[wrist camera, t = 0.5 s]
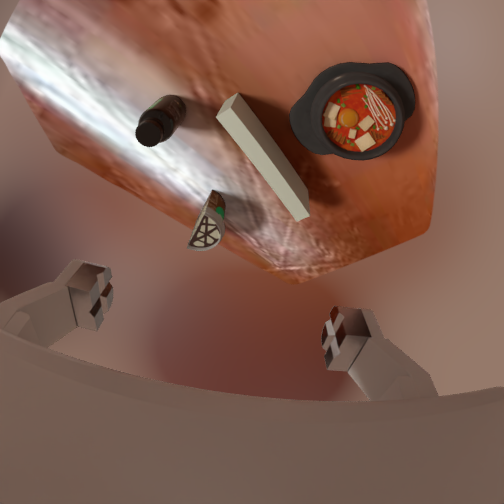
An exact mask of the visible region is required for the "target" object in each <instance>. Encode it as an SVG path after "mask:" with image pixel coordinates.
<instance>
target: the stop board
mask: <svg viewBox="0 0 504 504" xmlns="http://www.w3.org/2000/svg"><path fill="white" fill-rule="evenodd" d="M216 118H217V119H218V121H219V122H220V123H221V124H222V125H223V127H224V128H225V129H226V130H227V132H228V133H229V134H230V135H231V136H232V138H233V139H234V140H235V141H236V143H237V144H238V145H239V146H240V148H241V149H242V150H243V151H244V153H245V154H246V155H247V157H248V158H249V159H250V160H251V162H252V163H253V164H254V165H255V167H256V168H257V169H258V171H259V172H260V173H261V175H262V176H263V177H264V178H265V180H266V181H267V182H268V184H269V185H270V186H271V188H272V189H273V190H274V192H275V193H276V194H277V196H278V197H279V198H280V200H281V201H282V202H283V204H284V205H285V206H286V208H287V209H288V210H289V212H290V213H291V214H292V216H293V217H294V218H295V220H296V221H299V220H302V219H304V218H306V217H309V216H310V208H309V196H308V189H307V188H306V186H305V185H304V183H303V182H302V180H301V179H300V177H299V176H298V174H297V173H296V171H295V170H294V168H293V167H292V165H291V164H290V162H289V161H288V160H287V158H286V157H285V155H284V154H283V152H282V151H281V150H280V148H279V147H278V145H277V144H276V143H275V141H274V140H273V138H272V137H271V136H270V134H269V133H268V131H267V130H266V129H265V127H264V126H263V125H262V123H261V122H260V121H259V119H258V118H257V117H256V115H255V114H254V113H253V111H252V110H251V109H250V107H249V106H248V105H247V103H246V102H245V101H244V99H243V98H242V97H241V96H240V94H239V93H237V94H235V95H234V96H232V97H230V98H229V99H227V100H226V101H225V102H224V104H223V106H222V107H221V109H220V111H219V112H218V114H217V116H216Z"/></svg>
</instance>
